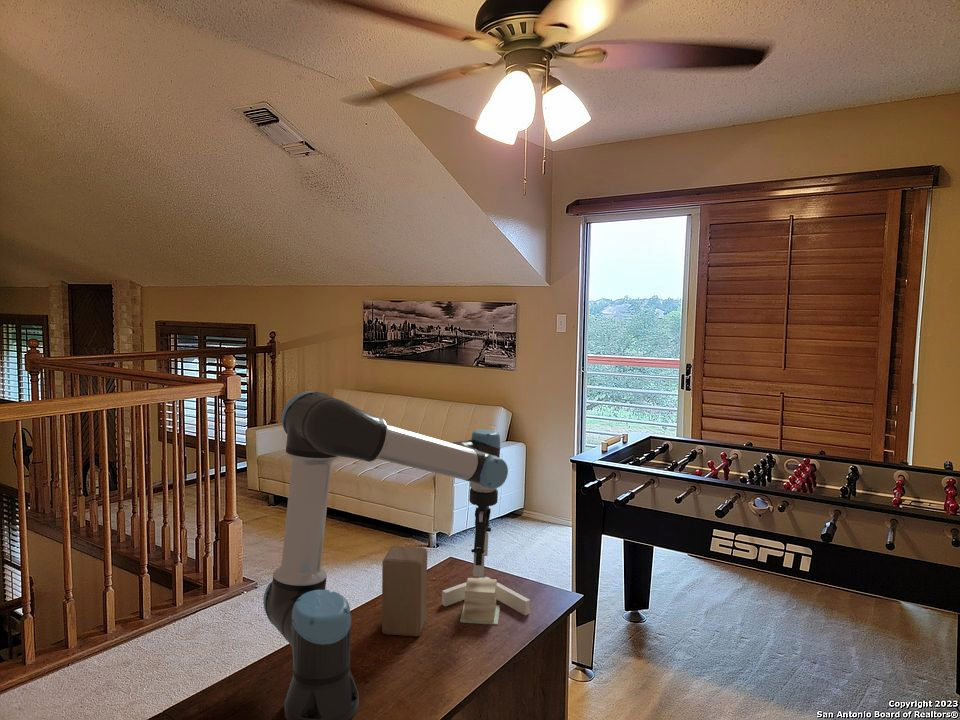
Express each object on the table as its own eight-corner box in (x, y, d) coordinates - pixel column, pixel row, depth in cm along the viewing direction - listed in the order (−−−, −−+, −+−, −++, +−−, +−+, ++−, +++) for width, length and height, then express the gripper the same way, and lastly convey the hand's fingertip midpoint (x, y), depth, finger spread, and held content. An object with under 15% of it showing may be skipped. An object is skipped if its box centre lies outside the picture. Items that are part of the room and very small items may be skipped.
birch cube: (494, 621, 176) (494, 592, 175) (464, 619, 177) (464, 590, 176) (495, 607, 184) (496, 579, 183) (467, 605, 184) (467, 577, 184)
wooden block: (426, 618, 177) (428, 546, 175) (419, 638, 167) (420, 562, 165) (390, 616, 178) (390, 544, 176) (380, 635, 168) (381, 560, 166)
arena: (479, 634, 170) (479, 620, 169) (435, 606, 184) (436, 592, 183) (529, 613, 181) (530, 599, 181) (484, 588, 195) (485, 575, 195)
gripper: (495, 504, 163) (491, 586, 166) (500, 476, 188) (497, 548, 190) (464, 501, 164) (461, 584, 166) (474, 474, 189) (471, 546, 191)
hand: (480, 565), depth 178 cm, fingers open, 13 cm apart
